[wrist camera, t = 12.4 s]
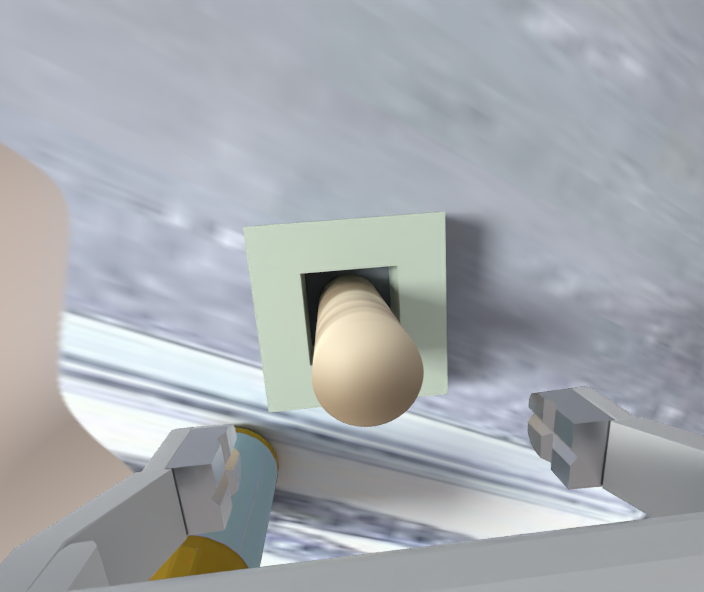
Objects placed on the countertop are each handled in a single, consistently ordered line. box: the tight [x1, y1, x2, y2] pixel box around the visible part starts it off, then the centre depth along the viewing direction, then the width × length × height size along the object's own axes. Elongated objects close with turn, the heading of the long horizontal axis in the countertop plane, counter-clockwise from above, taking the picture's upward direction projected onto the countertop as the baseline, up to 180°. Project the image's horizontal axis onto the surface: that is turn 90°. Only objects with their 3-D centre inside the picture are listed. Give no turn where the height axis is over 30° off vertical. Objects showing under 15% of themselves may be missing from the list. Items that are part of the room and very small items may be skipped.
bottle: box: [148, 427, 278, 581], centre depth 20 cm, size 7×7×15 cm
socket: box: [243, 212, 448, 412], centre depth 23 cm, size 12×12×4 cm
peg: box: [312, 274, 424, 427], centre depth 19 cm, size 4×4×12 cm
